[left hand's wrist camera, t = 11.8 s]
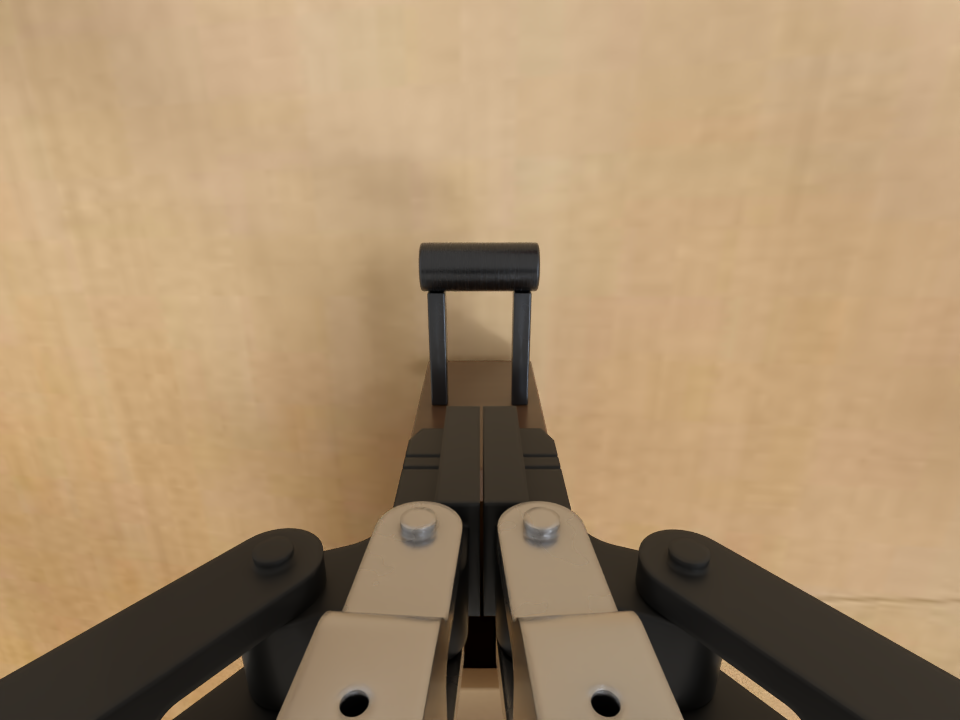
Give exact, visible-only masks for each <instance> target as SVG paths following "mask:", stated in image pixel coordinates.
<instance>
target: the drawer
mask: <svg viewBox="0 0 960 720" xmlns="http://www.w3.org/2000/svg"><path fill="white" fill-rule="evenodd" d="M539 277H540V252H539V246H538V243H422V244H421V245H420V249H419V279H420V287H421V289H422V291H428V294H427V296H428V323H429V351H430V361H429V363H428V367H427V371H426V376H425V380H424V384H423V388H422V393H421V397H420V401H419V405H418V410H417V414H416V418H415V423H414V427H413V431H412V435H411V438H412V437H413V436H414V435H415V434H416V433H417V432H418V431H420V430H421V429H422V428H444V422H445V415H446V407H447V406H480V616H468V635H467V640H466V642H465V645H464V663H463V668H497V663H496V616H484V583H483V406H516V407H517V414H518V422H519V428H541V429H542V430H544V431H545V432H546V433H547V430H546V425H545V421H544V417H543V412H542V408H541V403H540V399H539V395H538V390H537V386H536V382H535V377H534V373H533V369H532V364H531V361H529V356H530V325H531V291H536V290H537V289H538V286H539ZM446 291H513V311H512V361H448V351H447V309H446Z"/></svg>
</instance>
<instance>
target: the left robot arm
mask: <svg viewBox="0 0 960 720" xmlns="http://www.w3.org/2000/svg"><path fill="white" fill-rule="evenodd" d="M483 583H484V616H496V663H497V672H498V680H499V689H500V697H501V706H502V714H503V720H787V719H786V718H785V717H783V716H782V715H781V714H779V713H778V712H776V711H775V710H774V709H772V708H771V707H770V706H768V705H767V704H766V703H764V702H763V701H762V700H760V699H759V698H758V697H756V696H755V695H754V694H752V693H751V692H749V691H748V690H747V689H745V688H744V687H743V686H741V685H740V684H739V683H737V682H736V681H735V680H733V679H732V678H731V677H729V676H728V675H726V674H725V673H724V672H722V671H721V670H720V666H721V661H722V659H724V660H725V661H726V662H728V663H729V664H731V665H732V666H733V667H735V668H736V669H737V670H739V671H740V672H742V673H743V674H744V675H746V676H747V677H749V678H750V679H751V680H753V681H754V682H755V683H757V684H758V685H760V686H761V687H762V688H764V689H765V690H766V691H768V692H769V693H771V694H772V695H773V696H775V697H776V698H778V699H779V700H780V701H782V702H783V703H784V704H786V705H787V706H788V707H790V708H791V709H792V710H793V711H794V712H795V713H796V714H797V715H798V717H799V718H800V719H801V720H960V679H958V678H956V677H955V676H953V675H951V674H949V673H948V672H946V671H944V670H942V669H940V668H939V667H937V666H935V665H933V664H932V663H930V662H928V661H926V660H924V659H923V658H921V657H919V656H917V655H916V654H914V653H912V652H910V651H909V650H907V649H905V648H903V647H901V646H900V645H898V644H896V643H894V642H893V641H891V640H889V639H887V638H886V637H884V636H882V635H880V634H878V633H877V632H875V631H873V630H871V629H870V628H868V627H866V626H864V625H863V624H861V623H859V622H857V621H855V620H854V619H852V618H850V617H848V616H847V615H845V614H843V613H841V612H839V611H838V610H836V609H834V608H832V607H831V606H829V605H827V604H825V603H824V602H822V601H820V600H818V599H816V598H815V597H813V596H811V595H809V594H808V593H806V592H804V591H802V590H801V589H799V588H797V587H795V586H793V585H792V584H790V583H788V582H786V581H785V580H783V579H781V578H779V577H778V576H776V575H774V574H772V573H770V572H769V571H767V570H765V569H763V568H762V567H760V566H758V565H756V564H754V563H753V562H751V561H749V560H747V559H746V558H744V557H742V556H740V555H739V554H737V553H735V552H733V551H731V550H730V549H728V548H726V547H724V546H723V545H721V544H719V543H717V542H716V541H714V540H712V539H710V538H708V537H705V536H703V535H700V534H697V533H694V532H690V531H684V530H662V531H658V532H655V533H652V534H650V535H648V536H647V537H646V538H645V539H644V540H643V541H642V543H641V545H640V547H639V551H638V550H634V549H629V548H625V547H620V546H616V545H612V544H609V543H606V542H603V541H601V540H599V539H597V538H595V537H593V536H591V535H589V534H588V533H587V531H586V528H585V526H584V524H583V522H582V520H581V519H580V518H579V516H578V515H576V514H575V513H574V512H573V511H571V507H570V503H569V499H568V495H567V491H566V487H565V483H564V479H563V475H562V471H561V469H560V463H559V459H558V457H557V451H556V447H555V443H554V440H553V439H552V438H551V437H550V436H549V435H548V434H547V433H546V432H545V431H544V430H542V429H541V428H519V422H518V414H517V407H516V406H483ZM468 616H480V406H447V407H446V415H445V422H444V428H422V429H421V430H420V431H418V432H417V433H416V434H415V435H414V436H413V437H412V438H411V439H410V440H409V443H408V447H407V451H406V457H405V460H404V464H403V469H402V473H401V477H400V481H399V485H398V489H397V494H396V498H395V502H394V506H393V508H392V509H390V510H389V511H387V512H386V513H385V514H384V515H382V516H381V518H380V519H379V520H378V522H377V524H376V526H375V528H374V531H373V533H372V536H371V537H370V538H368V539H366V540H364V541H361V542H359V543H356V544H352V545H349V546H345V547H340V548H336V549H331V550H327V551H323V546H322V543H321V541H320V540H319V538H318V537H316V536H315V535H314V534H312V533H310V532H308V531H305V530H301V529H294V528H285V529H276V530H271V531H268V532H264V533H261V534H259V535H256V536H254V537H252V538H250V539H248V540H246V541H244V542H243V543H241V544H239V545H237V546H236V547H234V548H232V549H230V550H229V551H227V552H225V553H223V554H221V555H220V556H218V557H216V558H214V559H213V560H211V561H209V562H207V563H206V564H204V565H202V566H200V567H198V568H197V569H195V570H193V571H191V572H190V573H188V574H186V575H184V576H183V577H181V578H179V579H177V580H175V581H174V582H172V583H170V584H168V585H167V586H165V587H163V588H161V589H159V590H158V591H156V592H154V593H152V594H151V595H149V596H147V597H145V598H144V599H142V600H140V601H138V602H136V603H135V604H133V605H131V606H129V607H128V608H126V609H124V610H122V611H121V612H119V613H117V614H115V615H113V616H112V617H110V618H108V619H106V620H105V621H103V622H101V623H99V624H98V625H96V626H94V627H92V628H90V629H89V630H87V631H85V632H83V633H82V634H80V635H78V636H76V637H74V638H73V639H71V640H69V641H67V642H66V643H64V644H62V645H60V646H59V647H57V648H55V649H53V650H51V651H50V652H48V653H46V654H44V655H43V656H41V657H39V658H37V659H36V660H34V661H32V662H30V663H28V664H27V665H25V666H23V667H21V668H20V669H18V670H16V671H14V672H12V673H11V674H9V675H7V676H5V677H4V678H2V679H0V720H161V719H162V717H163V716H164V715H165V713H166V712H167V711H168V710H169V709H170V708H171V707H172V706H173V705H175V704H176V703H177V702H178V701H180V700H181V699H182V698H184V697H185V696H187V695H188V694H189V693H191V692H192V691H194V690H195V689H196V688H198V687H199V686H200V685H202V684H203V683H205V682H206V681H207V680H209V679H210V678H212V677H213V676H214V675H216V674H217V673H218V672H220V671H221V670H223V669H224V668H225V667H227V666H228V665H230V664H231V663H232V662H234V661H235V660H236V659H238V658H239V657H241V656H242V659H243V664H244V667H243V668H242V669H240V670H239V671H238V672H236V673H235V674H234V675H232V676H231V677H229V678H228V679H227V680H225V681H224V682H223V683H221V684H220V685H219V686H217V687H216V688H215V689H213V690H212V691H211V692H209V693H208V694H207V695H205V696H204V697H202V698H201V699H200V700H198V701H197V702H196V703H194V704H193V705H192V706H190V707H189V708H188V709H186V710H185V711H184V712H182V713H181V714H179V715H178V716H177V717H175V718H174V719H173V720H457V714H458V706H459V697H460V689H461V680H462V672H463V663H464V645H465V642H466V640H467V635H468Z"/></svg>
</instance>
